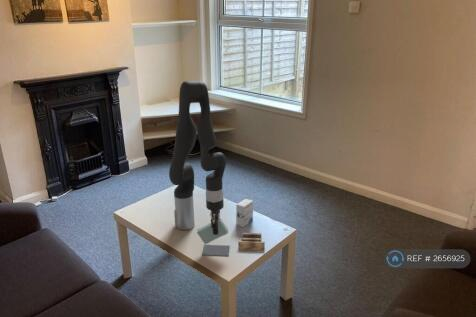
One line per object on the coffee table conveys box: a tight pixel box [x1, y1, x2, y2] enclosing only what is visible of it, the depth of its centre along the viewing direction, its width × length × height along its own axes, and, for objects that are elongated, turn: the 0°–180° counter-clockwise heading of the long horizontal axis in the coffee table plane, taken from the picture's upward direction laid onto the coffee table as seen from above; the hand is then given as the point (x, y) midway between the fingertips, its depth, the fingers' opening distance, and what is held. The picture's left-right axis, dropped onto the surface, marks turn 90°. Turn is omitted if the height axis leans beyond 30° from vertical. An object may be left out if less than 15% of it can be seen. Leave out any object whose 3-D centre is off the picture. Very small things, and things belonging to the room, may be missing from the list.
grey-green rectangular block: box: [196, 217, 229, 245], centre depth 170 cm, size 7×2×12 cm
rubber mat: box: [201, 244, 231, 257], centre depth 173 cm, size 12×8×1 cm, turn 87°
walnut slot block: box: [241, 232, 262, 242], centre depth 180 cm, size 9×6×2 cm, turn 87°
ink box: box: [235, 198, 254, 228], centre depth 195 cm, size 9×5×12 cm, turn 143°
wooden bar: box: [237, 240, 266, 251], centre depth 174 cm, size 12×2×4 cm, turn 87°
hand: (216, 232), depth 170 cm, fingers closed on grey-green rectangular block, 2 cm apart
